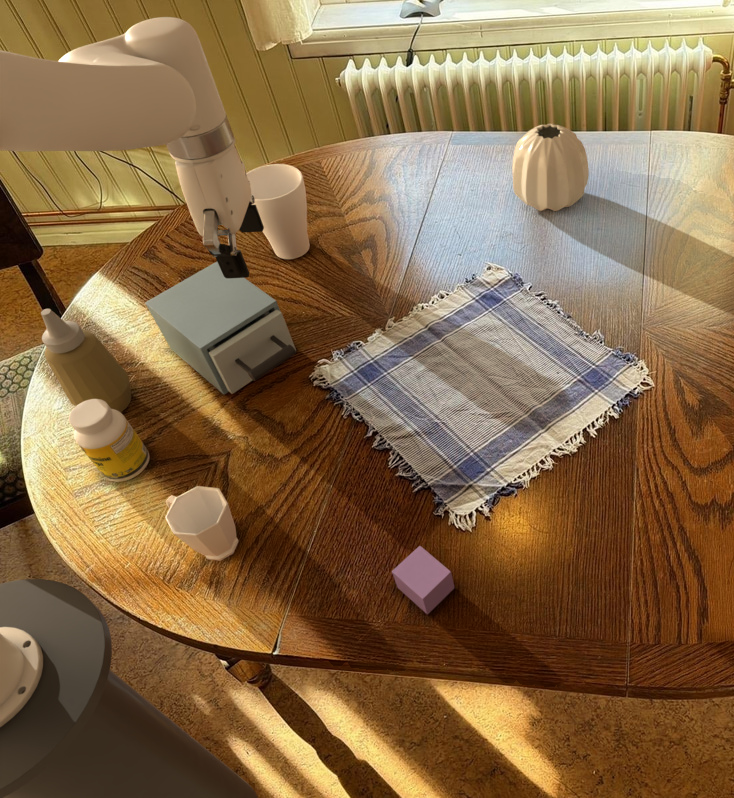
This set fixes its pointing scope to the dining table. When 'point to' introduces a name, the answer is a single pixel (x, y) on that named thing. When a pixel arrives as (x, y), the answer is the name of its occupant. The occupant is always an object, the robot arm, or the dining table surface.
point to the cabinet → (207, 315)
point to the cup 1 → (203, 522)
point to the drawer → (252, 350)
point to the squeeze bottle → (83, 364)
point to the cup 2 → (281, 208)
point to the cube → (423, 579)
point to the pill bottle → (108, 440)
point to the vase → (549, 168)
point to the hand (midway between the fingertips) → (245, 253)
